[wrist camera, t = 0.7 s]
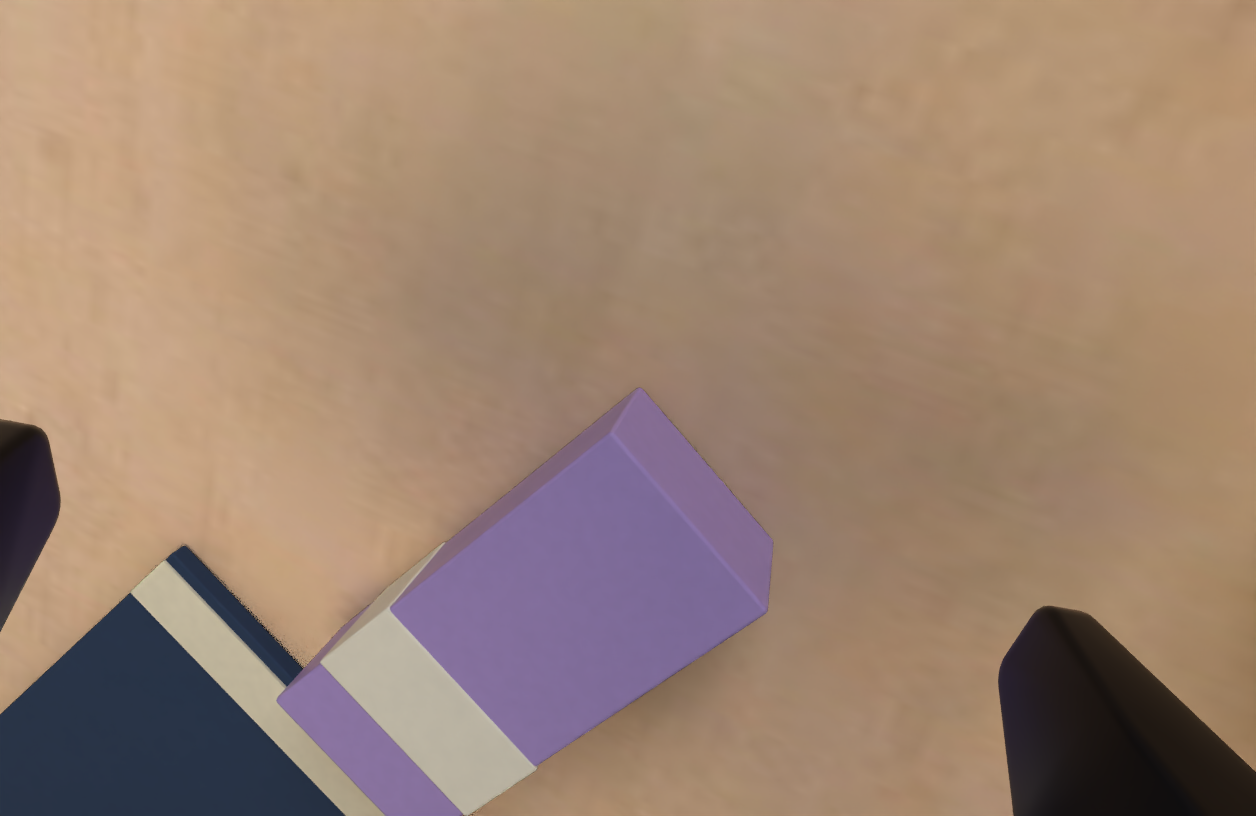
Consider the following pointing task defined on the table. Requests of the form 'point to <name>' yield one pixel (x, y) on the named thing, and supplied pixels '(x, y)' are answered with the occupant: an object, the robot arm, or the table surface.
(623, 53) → the table surface
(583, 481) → the chocolate
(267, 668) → the towel
